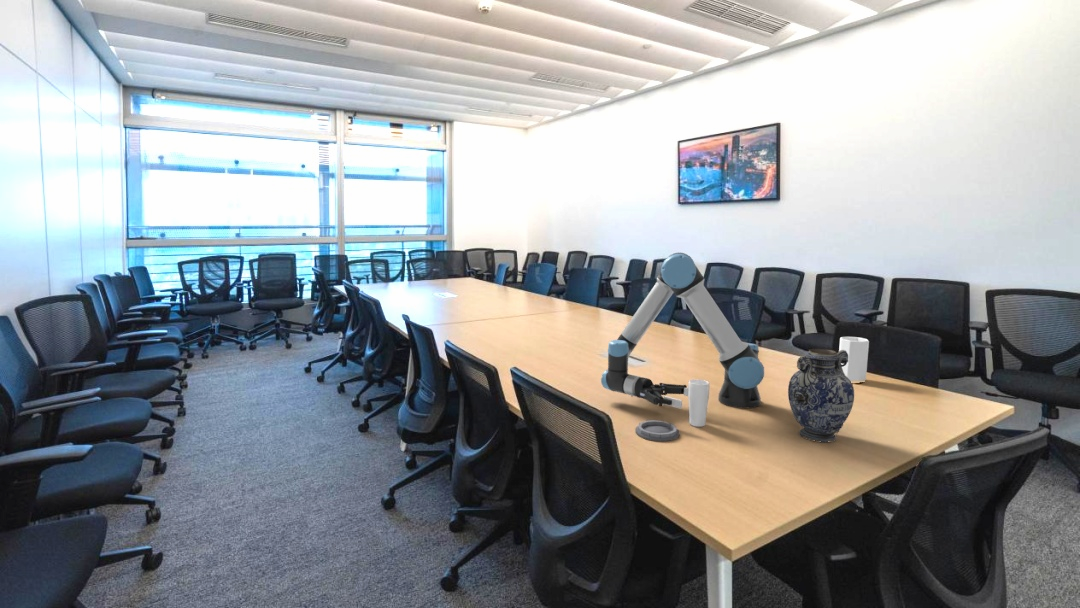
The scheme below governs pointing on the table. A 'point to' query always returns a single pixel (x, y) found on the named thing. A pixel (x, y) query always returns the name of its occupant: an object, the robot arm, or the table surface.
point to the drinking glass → (698, 401)
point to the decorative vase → (821, 394)
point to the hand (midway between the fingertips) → (691, 399)
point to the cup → (855, 357)
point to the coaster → (657, 431)
